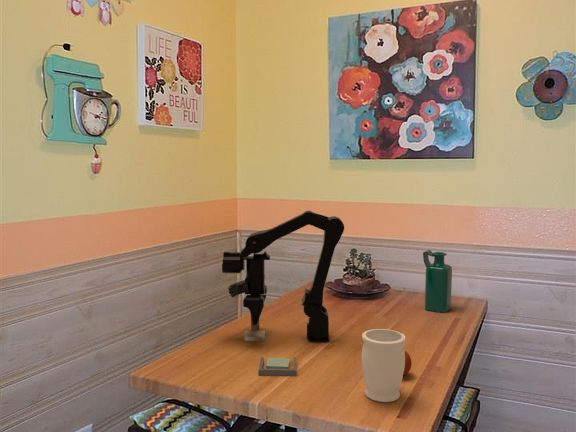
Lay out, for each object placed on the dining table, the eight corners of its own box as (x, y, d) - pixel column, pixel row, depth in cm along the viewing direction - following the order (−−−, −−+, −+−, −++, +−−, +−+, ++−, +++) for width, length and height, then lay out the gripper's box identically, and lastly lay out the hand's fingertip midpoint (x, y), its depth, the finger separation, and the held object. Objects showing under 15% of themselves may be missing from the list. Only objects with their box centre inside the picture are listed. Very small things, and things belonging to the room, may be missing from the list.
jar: (356, 386, 135) (357, 328, 133) (396, 385, 135) (398, 327, 134) (366, 406, 124) (367, 343, 122) (409, 404, 125) (411, 342, 123)
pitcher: (451, 308, 204) (454, 251, 201) (445, 313, 196) (447, 255, 194) (426, 304, 209) (428, 249, 206) (419, 309, 202) (421, 252, 199)
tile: (289, 365, 149) (289, 358, 149) (287, 373, 143) (287, 366, 143) (268, 364, 150) (268, 357, 150) (265, 373, 144) (265, 365, 144)
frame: (296, 362, 150) (296, 357, 150) (296, 375, 141) (296, 370, 141) (260, 362, 150) (260, 356, 150) (258, 375, 141) (258, 370, 141)
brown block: (265, 336, 172) (265, 310, 171) (264, 341, 168) (264, 313, 167) (245, 336, 172) (245, 310, 171) (244, 340, 168) (244, 313, 167)
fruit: (379, 372, 143) (380, 343, 142) (401, 368, 146) (401, 340, 145) (394, 382, 137) (395, 352, 136) (416, 378, 140) (417, 348, 139)
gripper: (233, 267, 177) (234, 312, 179) (225, 280, 159) (226, 330, 160) (266, 267, 177) (267, 312, 179) (263, 280, 158) (263, 331, 160)
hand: (255, 321), depth 169 cm, fingers open, 6 cm apart
